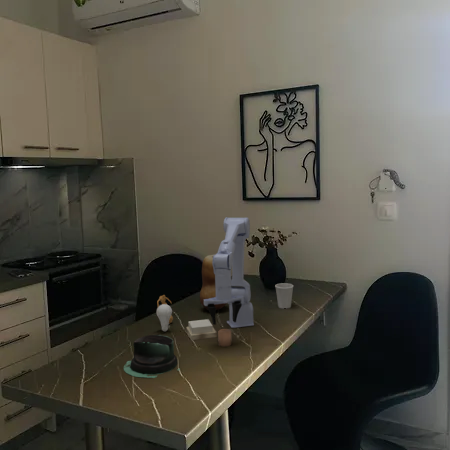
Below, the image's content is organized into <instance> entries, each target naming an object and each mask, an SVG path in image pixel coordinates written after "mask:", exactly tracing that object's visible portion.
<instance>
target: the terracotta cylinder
mask: <svg viewBox="0 0 450 450" xmlns="http://www.w3.org/2000/svg"><path fill="white" fill-rule="evenodd" d="M217 340H218V341H217V342H218V346H219V347H230V346H231V345H232V330H231V329H229V328H222V329H218V330H217Z"/></svg>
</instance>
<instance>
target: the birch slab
mask: <svg viewBox="0 0 450 450" xmlns="http://www.w3.org/2000/svg"><path fill="white" fill-rule="evenodd" d="M185 329H186V331H185V332H186V334H187V335H188V337H189V339H190V340H191V341H196V340H202V339H203V340H204V339H212V338H218V331H217V330H216V329H215V328H214V327H213V332H209V333H200V334H192V333H191V331H190V329H189V326H186V327H185Z"/></svg>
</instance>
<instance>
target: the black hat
mask: <svg viewBox="0 0 450 450" xmlns="http://www.w3.org/2000/svg"><path fill="white" fill-rule="evenodd" d="M174 348H175V347H174V339H173V338H171V337H169V336H167V335H161V334H151V335H149V334H148V335H145V336H141V337H139V338H137V339H135V340H134V341H133V358H132V359H131V360H128V361H126V363H125V364H124V366H123V371H124V372H125V373H126V374H127V375H130V376H133V377H137V378H148V379H149V378H151V379H152V378H153V379H155V378H157V377H158V375H161V374H165V373H167V372H171V371H173V370H174V369H175V368H176V367H177V365H178V357H177V356H176V354H175V349H174ZM180 370H181V368H177V371H180Z"/></svg>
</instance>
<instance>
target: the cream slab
mask: <svg viewBox="0 0 450 450" xmlns="http://www.w3.org/2000/svg"><path fill="white" fill-rule="evenodd" d="M187 324H188V327H189V329H190V331H191V333H192V334H200V333H209V332H213V328H214V325H213V323H211V321H210V319H209V318H207V319H206V318H205V319H199V320H198V319H197V320H191V321H188V323H187Z"/></svg>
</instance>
